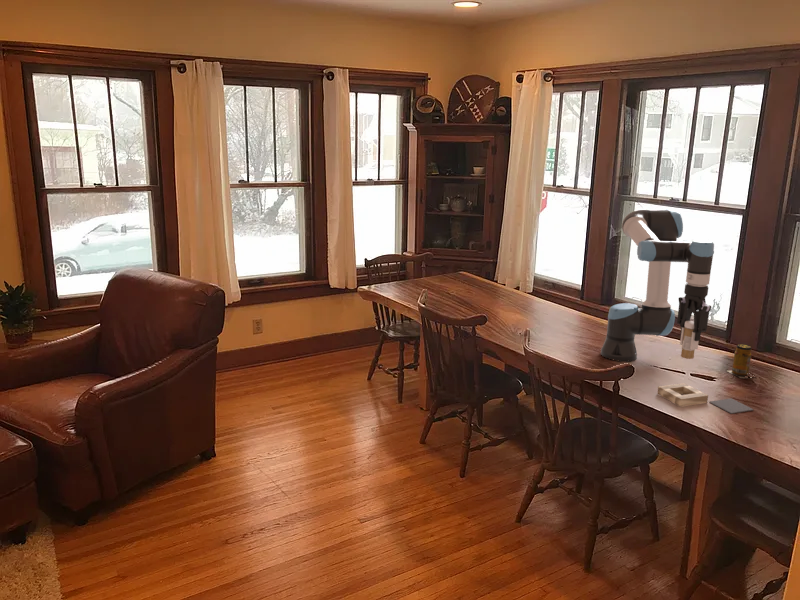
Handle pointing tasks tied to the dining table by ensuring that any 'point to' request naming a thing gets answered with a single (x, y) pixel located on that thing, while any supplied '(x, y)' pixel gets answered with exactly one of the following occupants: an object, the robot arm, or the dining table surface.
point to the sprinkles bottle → (687, 341)
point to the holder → (689, 397)
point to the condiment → (741, 361)
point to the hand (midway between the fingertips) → (688, 346)
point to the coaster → (731, 406)
